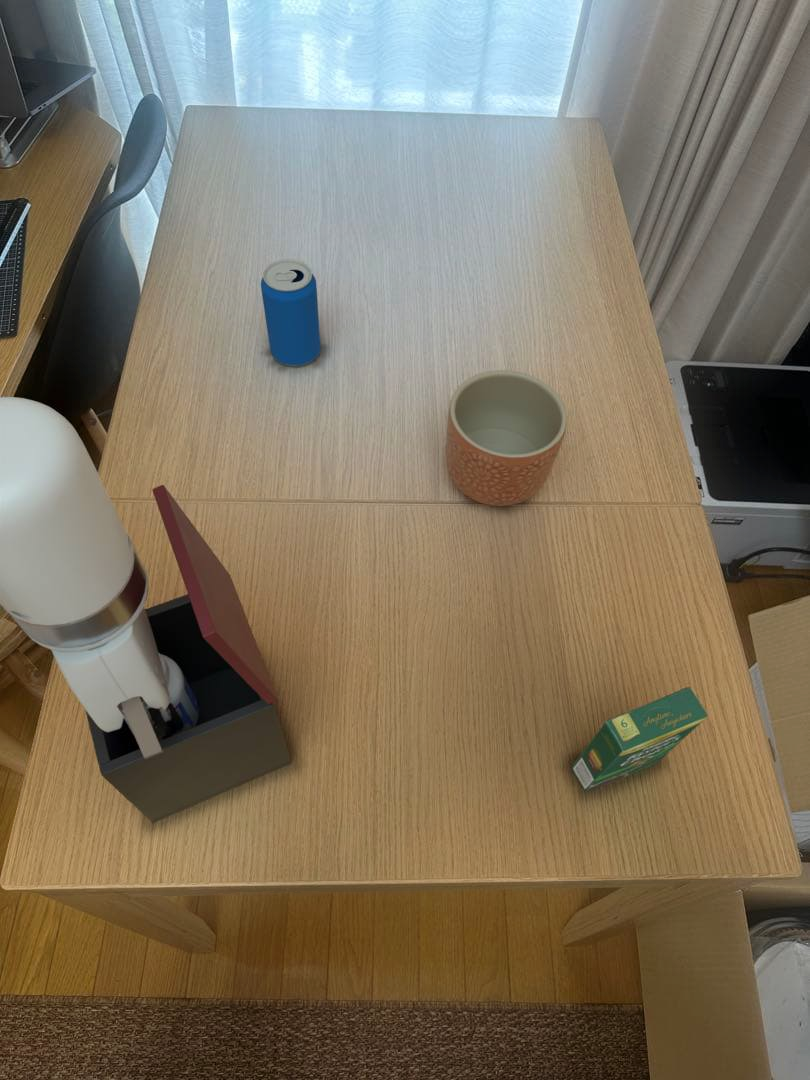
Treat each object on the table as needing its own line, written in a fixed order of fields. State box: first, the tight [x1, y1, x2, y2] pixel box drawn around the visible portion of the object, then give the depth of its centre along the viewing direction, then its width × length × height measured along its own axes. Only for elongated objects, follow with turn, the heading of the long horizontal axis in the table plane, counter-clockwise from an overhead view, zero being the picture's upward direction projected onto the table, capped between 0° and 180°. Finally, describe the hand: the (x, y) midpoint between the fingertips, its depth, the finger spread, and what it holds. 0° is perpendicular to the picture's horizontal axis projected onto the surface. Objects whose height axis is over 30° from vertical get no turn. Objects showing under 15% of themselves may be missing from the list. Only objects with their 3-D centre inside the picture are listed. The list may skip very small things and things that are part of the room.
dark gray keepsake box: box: [85, 593, 292, 824], centre depth 62 cm, size 13×12×15 cm
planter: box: [444, 369, 568, 507], centre depth 81 cm, size 12×12×11 cm
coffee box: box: [570, 686, 709, 794], centre depth 62 cm, size 8×3×13 cm, turn 111°
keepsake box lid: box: [152, 484, 279, 704], centre depth 51 cm, size 14×12×1 cm
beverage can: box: [260, 258, 322, 367], centre depth 91 cm, size 6×6×12 cm
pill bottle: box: [147, 653, 199, 735], centre depth 58 cm, size 5×5×10 cm
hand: (152, 696), depth 58 cm, fingers closed on pill bottle, 5 cm apart
